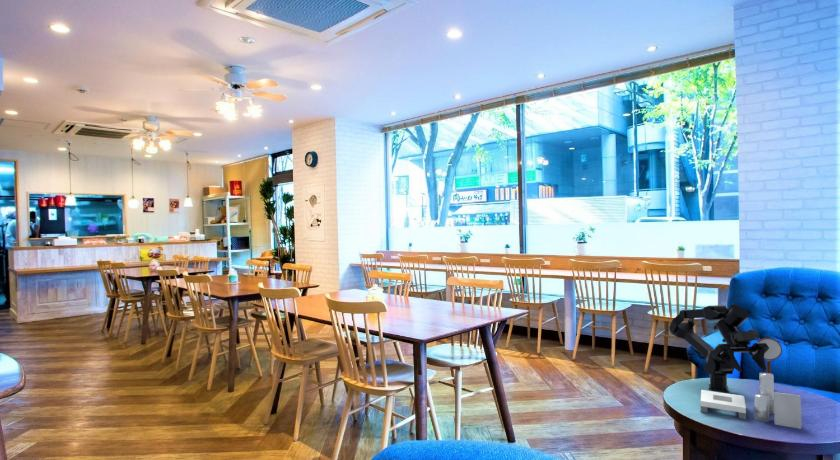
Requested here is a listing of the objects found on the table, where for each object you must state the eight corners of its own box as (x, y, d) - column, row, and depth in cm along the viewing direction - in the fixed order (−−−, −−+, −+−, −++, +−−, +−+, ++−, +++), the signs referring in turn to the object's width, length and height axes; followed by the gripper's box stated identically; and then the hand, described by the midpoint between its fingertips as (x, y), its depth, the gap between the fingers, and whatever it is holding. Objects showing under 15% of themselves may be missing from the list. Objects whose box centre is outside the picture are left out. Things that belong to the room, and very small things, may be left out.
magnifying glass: (756, 387, 188) (755, 337, 188) (755, 386, 190) (754, 336, 190) (783, 390, 184) (782, 339, 184) (781, 389, 186) (781, 338, 186)
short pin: (754, 416, 160) (753, 392, 160) (768, 418, 158) (768, 394, 158) (755, 420, 157) (754, 396, 157) (770, 422, 155) (769, 398, 155)
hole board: (701, 400, 176) (701, 389, 176) (743, 406, 169) (743, 395, 169) (700, 411, 164) (700, 400, 164) (746, 419, 158) (745, 407, 158)
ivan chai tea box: (801, 429, 150) (801, 397, 150) (774, 424, 153) (774, 393, 153) (800, 425, 153) (799, 394, 153) (774, 420, 157) (773, 390, 156)
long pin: (759, 408, 167) (758, 371, 167) (773, 410, 165) (772, 373, 165) (760, 412, 163) (759, 374, 163) (774, 414, 161) (774, 376, 161)
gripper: (717, 322, 175) (740, 360, 164) (765, 320, 176) (790, 358, 165) (703, 338, 182) (724, 376, 171) (749, 337, 184) (772, 374, 173)
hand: (752, 371), depth 170 cm, fingers open, 9 cm apart
